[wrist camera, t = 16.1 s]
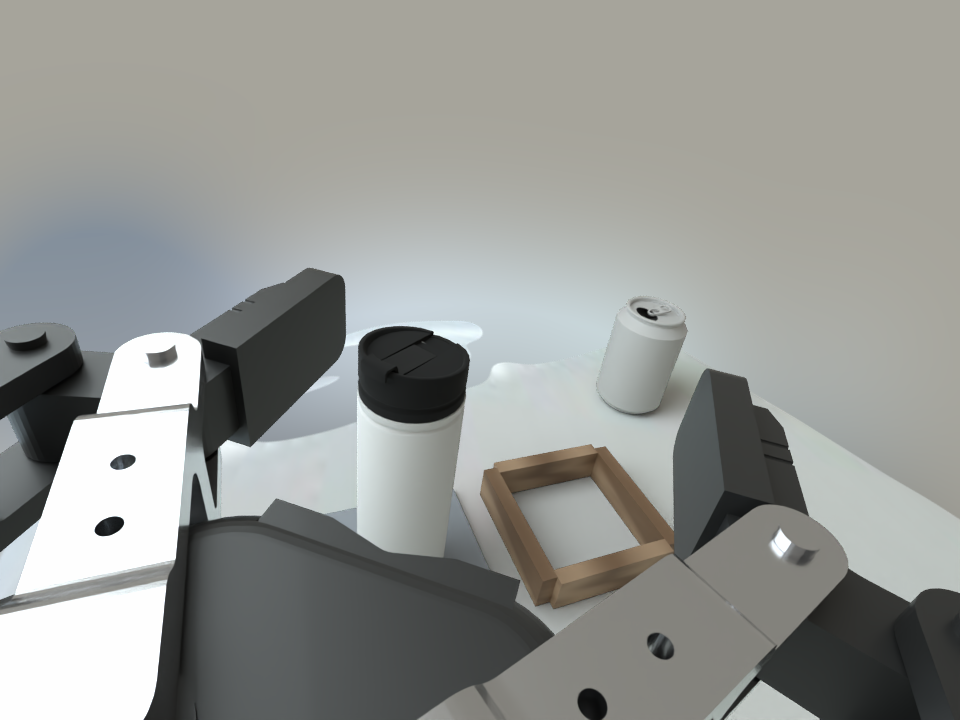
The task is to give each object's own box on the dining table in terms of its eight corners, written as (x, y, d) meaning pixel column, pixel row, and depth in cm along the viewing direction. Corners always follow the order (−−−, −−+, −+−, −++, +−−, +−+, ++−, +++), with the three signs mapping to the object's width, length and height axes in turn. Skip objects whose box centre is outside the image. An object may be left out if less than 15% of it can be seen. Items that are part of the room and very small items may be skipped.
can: (583, 382, 65) (608, 293, 59) (635, 376, 68) (665, 290, 61) (615, 422, 60) (647, 328, 53) (671, 414, 62) (708, 323, 56)
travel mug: (335, 576, 40) (327, 342, 29) (396, 520, 44) (409, 302, 33) (400, 627, 37) (419, 393, 26) (458, 562, 42) (494, 341, 31)
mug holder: (594, 465, 54) (601, 442, 52) (674, 571, 44) (686, 547, 43) (477, 489, 49) (481, 465, 47) (538, 613, 40) (546, 588, 38)
